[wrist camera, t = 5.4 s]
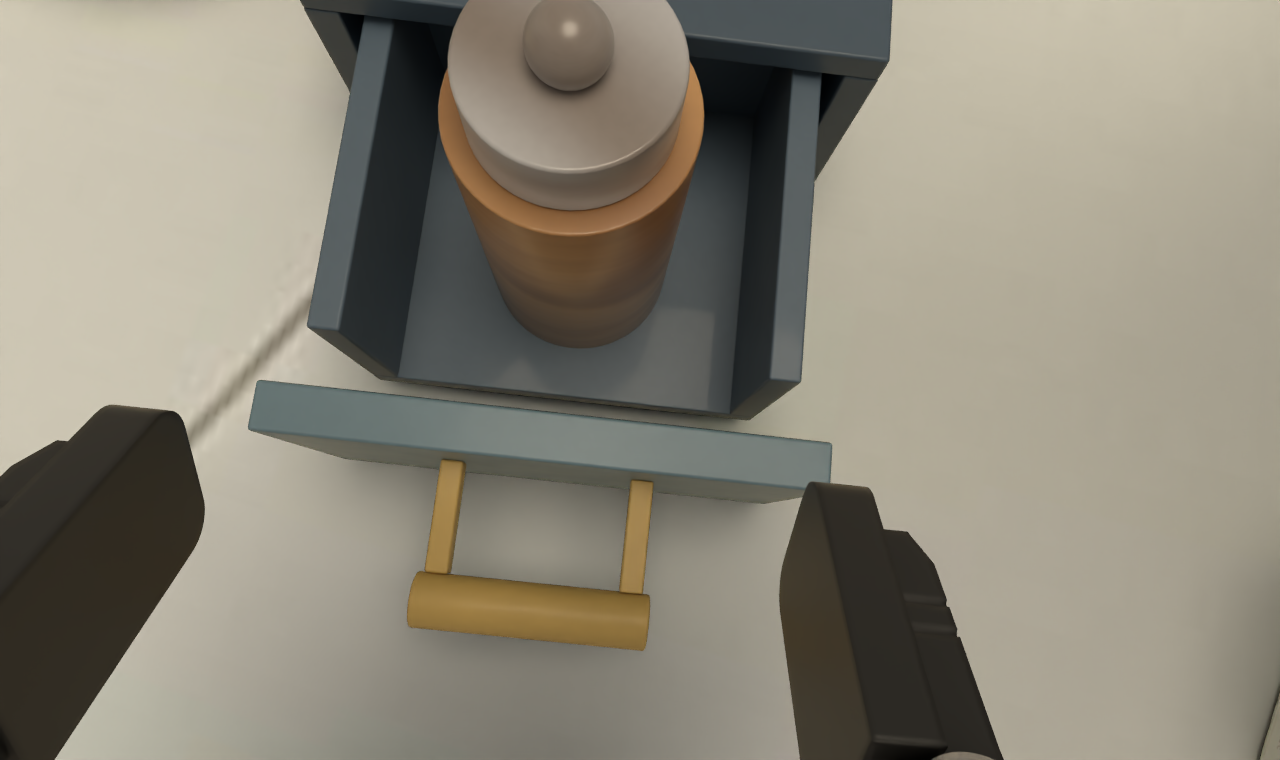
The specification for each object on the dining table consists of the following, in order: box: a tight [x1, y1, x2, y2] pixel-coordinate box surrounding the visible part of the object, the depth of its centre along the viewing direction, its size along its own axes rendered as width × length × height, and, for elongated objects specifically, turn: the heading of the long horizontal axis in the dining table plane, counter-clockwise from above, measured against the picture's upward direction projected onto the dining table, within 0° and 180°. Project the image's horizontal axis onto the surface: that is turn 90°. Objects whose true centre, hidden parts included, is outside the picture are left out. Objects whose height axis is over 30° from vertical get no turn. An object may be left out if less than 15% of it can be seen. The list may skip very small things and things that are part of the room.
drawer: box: [248, 15, 832, 651], centre depth 23 cm, size 18×14×7 cm
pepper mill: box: [438, 0, 704, 348], centre depth 20 cm, size 5×5×13 cm
